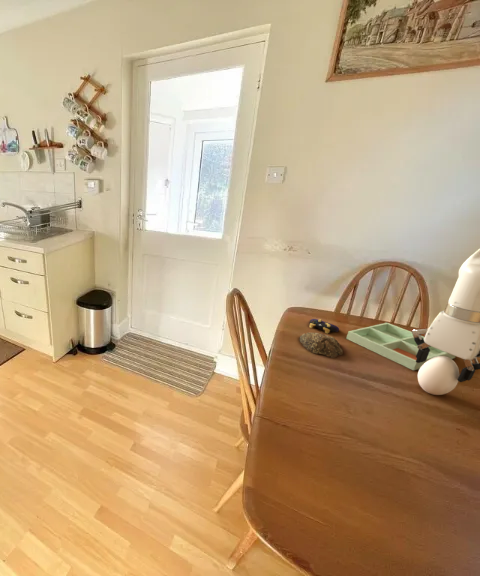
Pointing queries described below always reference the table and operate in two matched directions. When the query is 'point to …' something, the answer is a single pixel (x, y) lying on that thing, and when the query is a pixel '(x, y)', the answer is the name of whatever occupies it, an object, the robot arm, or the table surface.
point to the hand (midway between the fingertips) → (440, 370)
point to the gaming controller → (323, 325)
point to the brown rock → (321, 344)
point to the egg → (438, 375)
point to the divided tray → (393, 344)
